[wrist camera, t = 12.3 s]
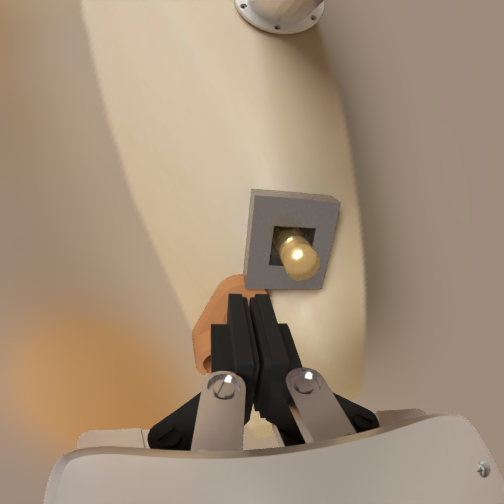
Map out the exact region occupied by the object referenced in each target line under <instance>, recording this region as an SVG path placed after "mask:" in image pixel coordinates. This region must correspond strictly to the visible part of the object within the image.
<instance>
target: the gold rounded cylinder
mask: <svg viewBox="0 0 504 504" xmlns="http://www.w3.org/2000/svg"><path fill="white" fill-rule="evenodd" d="M272 240H273V243H274V246H275V248H276V250H277V252H278V254H279V256H280V259H281V261H282V263H283V265H284V267H285V270H286V272H287V274H288V275H289V277H290V278H292V279H294V280H297V281H304V280H307V279H310V278H311V277H313V276H314V275H315V274H316V273H317V271H318V269H319V267H320V259H319V256H318V255H317V254H316V252H315V251H314V249H313V248H312V247H311V245H310V244H309V242H308V241H307V240H306V238H305V237H304V235H303V234H302V233H301V231H300V230H299V229H298V227H287V226H278V227H277V228H276V229H275V231H274V232H273V238H272Z"/></svg>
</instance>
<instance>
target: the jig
mask: <svg viewBox="0 0 504 504" xmlns="http://www.w3.org/2000/svg"><path fill="white" fill-rule="evenodd" d="M339 208H340V202H339V201H337V200H336V199H335V198H333V197H332V196H327V195H317V194H307V193H296V192H285V191H273V190H259V189H251V199H250V209H249V219H248V229H247V239H246V250H245V260H244V271H243V277H244V283H245V289H322V285H323V281H324V277H325V272H326V268H327V264H328V260H329V255H330V251H331V247H332V242H333V238H334V233H335V228H336V223H337V219H338V214H339ZM274 226H287V227H304V228H307V231H306V236H305V238H306V240H307V241H308V242H309V244H310V245H311V247H312V248H313V249H314V251H315V252H316V254H317V255H318V256H319V259H320V267H319V269H318V271H317V273H316V274H315V275H314V276H313V277H311V278H310V279H307V280H304V281H297V280H294V279H292V278H290V277H289V275H288V274H287V272H286V270H285V267H284V265H283V263H282V261H281V259H280V256H279V255H270V252H271V245H272V238H273V230H274Z"/></svg>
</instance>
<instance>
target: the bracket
mask: <svg viewBox="0 0 504 504" xmlns="http://www.w3.org/2000/svg"><path fill="white" fill-rule="evenodd" d="M229 293H231V294H242V297H247V300H248V306H249V302H250V297H254V296H255V294H267V292H266V290H265V289H245V283H244V277H243V274H238V275H233V276H231V277H229V278H227V279H225V280H224V281H223V282H222V283H221V284H220V285H219V286H218V288H217V290H216V291H215V293H214V295H213V296H212V298H211V300H210V302H209V303H208V305H207V307H206V308H205V310H204V312H203V313H202V315H201V317H200V319H199V320H198V322H197V324H196V326H195V327H194V329H193V331H192V340H193V348H194V356H195V363H196V368H197V370H198V371H199V372H200V373H201V374H203V375H205V374H206V372H207V373H210V374H211V324H227V309H228V295H229Z"/></svg>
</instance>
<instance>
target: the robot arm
mask: <svg viewBox="0 0 504 504" xmlns="http://www.w3.org/2000/svg"><path fill="white" fill-rule="evenodd" d="M234 3H235V6H236V9H237V10H238V12H239V13H240V15H241V16H242V17H243V18H244V19H245V20H246V21H248V22H249V23H250V24H252V25H253V26H255V27H257V28H259V29H261V30H264V31H267V32H270V33H276V34H295V33H299V32H303V31H305V30H307V29H309V28H311V27H312V26H313V25H315V24H316V23H317V22H318V21H319V20H320V18H321V16H322V15H323V12H324V7H325V6H324V5H325V2H324V0H234ZM241 7H244V8H245V9H243V8H241ZM312 19H313V20H312ZM275 27H276V28H278V30H277V29H275ZM253 404H254V409H255V411H259V412H260V417H261V418H266V420H267V421H269V422H270V423H272V428H273V431H274V433H275V436H276V438H277V441H278V443H279V446H280V447H277V448H267V449H255V450H243V434H244V433H243V432H244V425H245V424H246V423H247V422H248V421H249V419H250V414H251V411H252V406H253ZM43 504H504V481H503V479H502V476H501V474H500V472H499V470H498V468H497V466H496V464H495V462H494V460H493V458H492V456H491V454H490V452H489V451H488V449H487V447H486V445H485V444H484V442H483V440H482V439H481V437H480V436H479V434H478V432H477V431H476V430H475V429H474V427H473V426H472V424H471V423H470V422H469V421H468V420H467V419H465V418H464V417H462V416H461V415H458V414H454V413H432V414H426V413H425V412H423V411H422V410H420V409H404V410H386V411H377V412H376V413H373V412H371V411H370V410H368V409H366V408H364V407H362V406H359V405H357V404H355V403H353V402H351V401H349V400H347V399H345V398H343V397H341V396H339V395H337V394H335V393H333V392H332V391H331V389H330V388H329V386H328V384H327V383H326V381H325V379H324V378H323V377H322V375H321V374H320V373H318V372H317V371H316V370H313V369H310V368H305V367H302V364H301V361H300V358H299V355H298V353H297V350H296V347H295V344H294V341H293V338H292V335H291V332H290V330H289V327H288V325H287V324H278V323H277V319H276V316H275V313H274V310H273V306H272V303H271V300H270V297H269V294H255V296H254V297H250V302H249V306H248V300H247V297H242V294H231V293H229V295H228V309H227V324H211V374H210V375H208V376H207V377H206V378H205V380H204V382H203V385H202V390H201V392H200V393H199V394H198V395H196V396H195V397H194V398H193V399H191V400H190V401H189V402H187V403H186V404H184V405H183V406H181V407H180V408H179V409H177V410H176V411H175V412H173V413H172V414H170V415H169V416H167V417H166V418H165V419H163V420H162V421H160V422H159V423H157V424H156V425H155V426H153V428H151V429H145V430H141V428H129V429H114V430H91V431H86V432H84V433H83V434H81V435H80V437H79V438H78V442H77V450H75V451H72V452H69V453H67V454H65V455H63V456H62V457H61V458H60V459H59V460H58V461H57V462H56V464H55V466H54V467H53V470H52V472H51V474H50V477H49V480H48V484H47V488H46V492H45V497H44V503H43Z"/></svg>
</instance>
